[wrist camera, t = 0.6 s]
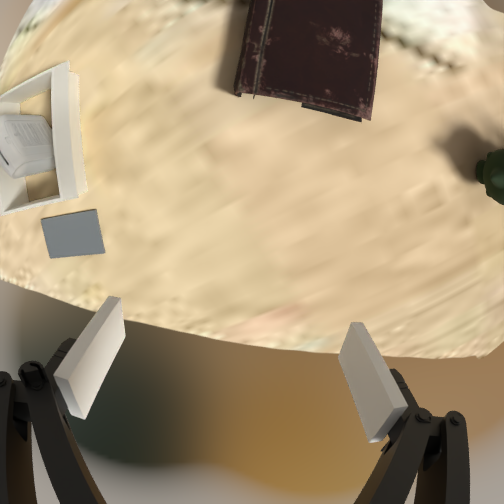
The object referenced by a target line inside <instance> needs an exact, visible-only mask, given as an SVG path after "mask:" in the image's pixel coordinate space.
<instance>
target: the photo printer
mask: <svg viewBox="0 0 504 504" xmlns="http://www.w3.org/2000/svg"><path fill="white" fill-rule="evenodd" d="M0 165H1V166H2V168H3V169H4V170H5V172H6V173H7V174H8V175H9V176H10V177H11V178H13V179H17V178H21V177H26V176H30V175H34V174H38V173H43V172H47V171H51V170H53V169H55V168H56V165H55V156H54V145H53V132H52V129H51V128H50V126H49V124H48V123H47V121H46V120H45V118H44V117H43V116H41V115H11V114H5V115H1V116H0Z"/></svg>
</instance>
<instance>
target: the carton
mask: <svg viewBox="0 0 504 504" xmlns="http://www.w3.org/2000/svg"><path fill="white" fill-rule="evenodd" d="M69 68H70V61H66V62H64V63H62V64H59V65H57V66H55V67H53V68H50V69H48V70H46V71H44V72H42V73H40V74H38V75H36V76H34V77H32V78H30V79H28V80H27V81H25V82H23V83H21V84H19V85H17V86H16V87H14V88H12V89H10V90H9V91H7V92H5V93H4V94H2V95H1V96H0V116H1V115H5V114H11V115H20V103H22V102H24V101H26V100H28V99H30V98H32V97H34V96H36V95H38V94H40V93H42V92H45V91H47V90H49V89H51V112H52V132H53V145H54V156H55V165H56V173H57V180H58V187H59V193H60V194H59V195H54V196H50V197H46V198H42V199H38V200H34V201H30V202H29V199H28V193H27V186H26V179H25V177H21V178H17V179H13V178H11V177H10V176H9V175H8V174H7V173H6V172H5V170H4V169H3V168H2V166H1V165H0V216H3V215H7V214H10V213H14V212H18V211H22V210H26V209H30V208H34V207H38V206H43V205H47V204H51V203H56V202H61V201H65V200H70V199H75V198H79V196H78V195H80V194H82V193H85V192H88V188H87V181H86V174H85V166H84V158H83V148H82V137H81V123H80V102H79V74H76V73H73V72H70V71H69Z"/></svg>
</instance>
